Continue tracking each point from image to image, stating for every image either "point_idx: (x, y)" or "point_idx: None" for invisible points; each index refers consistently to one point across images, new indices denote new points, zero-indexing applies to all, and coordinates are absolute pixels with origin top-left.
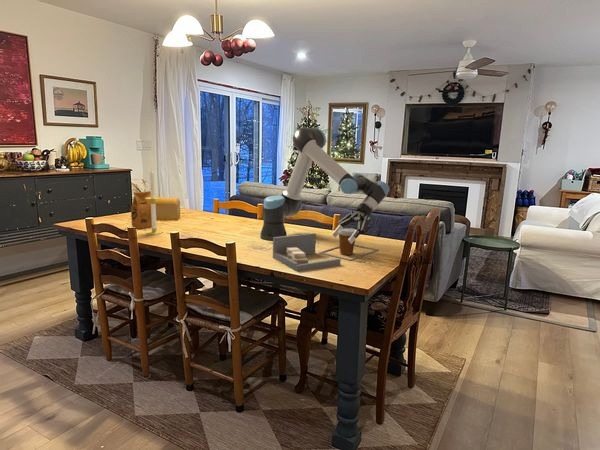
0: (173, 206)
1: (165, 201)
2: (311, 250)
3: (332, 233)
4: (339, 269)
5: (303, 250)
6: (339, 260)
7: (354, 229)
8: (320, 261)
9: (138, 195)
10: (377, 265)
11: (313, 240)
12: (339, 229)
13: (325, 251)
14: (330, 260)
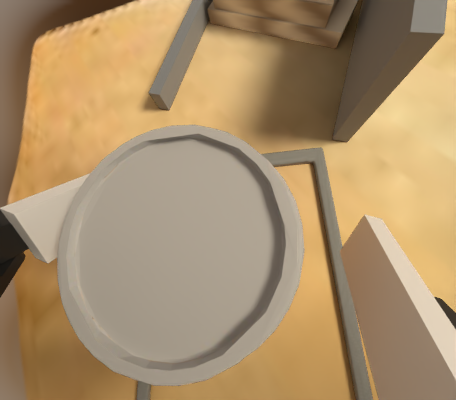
0: None
1: None
2: (343, 110)
3: (382, 223)
4: (137, 77)
5: (353, 69)
6: (152, 92)
7: (110, 347)
8: (186, 29)
9: None
10: None
11: (373, 70)
12: (250, 152)
13: (319, 190)
14: (168, 59)
